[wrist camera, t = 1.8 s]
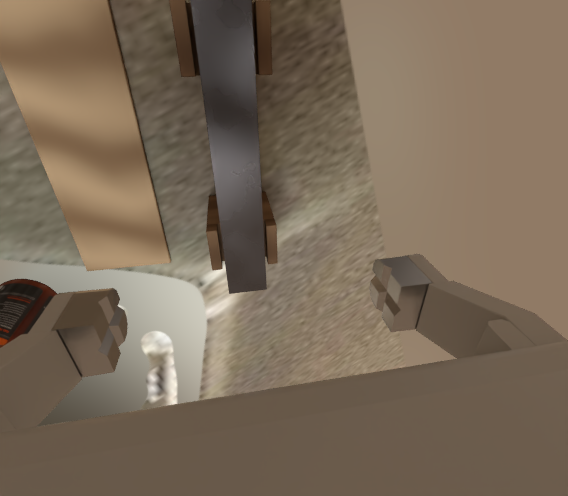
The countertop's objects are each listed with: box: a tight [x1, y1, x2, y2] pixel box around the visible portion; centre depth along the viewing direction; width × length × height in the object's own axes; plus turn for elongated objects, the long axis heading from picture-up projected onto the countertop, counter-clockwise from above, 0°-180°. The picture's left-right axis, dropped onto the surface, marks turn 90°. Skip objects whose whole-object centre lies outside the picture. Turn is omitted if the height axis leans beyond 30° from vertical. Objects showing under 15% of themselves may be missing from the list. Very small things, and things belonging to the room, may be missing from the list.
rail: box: [191, 0, 267, 294], centre depth 22 cm, size 20×3×3 cm, turn 0°
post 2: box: [206, 192, 277, 270], centre depth 29 cm, size 4×5×7 cm, turn 91°
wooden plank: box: [0, 0, 171, 271], centre depth 26 cm, size 24×8×1 cm, turn 1°
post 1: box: [169, 0, 272, 77], centre depth 21 cm, size 4×5×7 cm, turn 90°
